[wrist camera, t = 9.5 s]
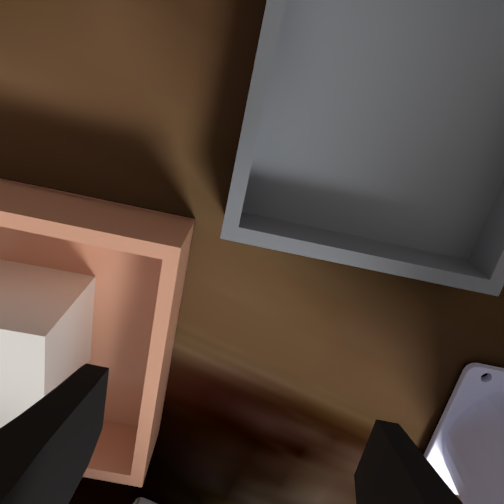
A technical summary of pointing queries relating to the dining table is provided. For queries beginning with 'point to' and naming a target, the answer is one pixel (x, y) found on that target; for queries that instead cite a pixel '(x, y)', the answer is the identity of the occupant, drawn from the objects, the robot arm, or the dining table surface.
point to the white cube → (41, 332)
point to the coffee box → (143, 501)
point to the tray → (377, 138)
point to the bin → (111, 302)
